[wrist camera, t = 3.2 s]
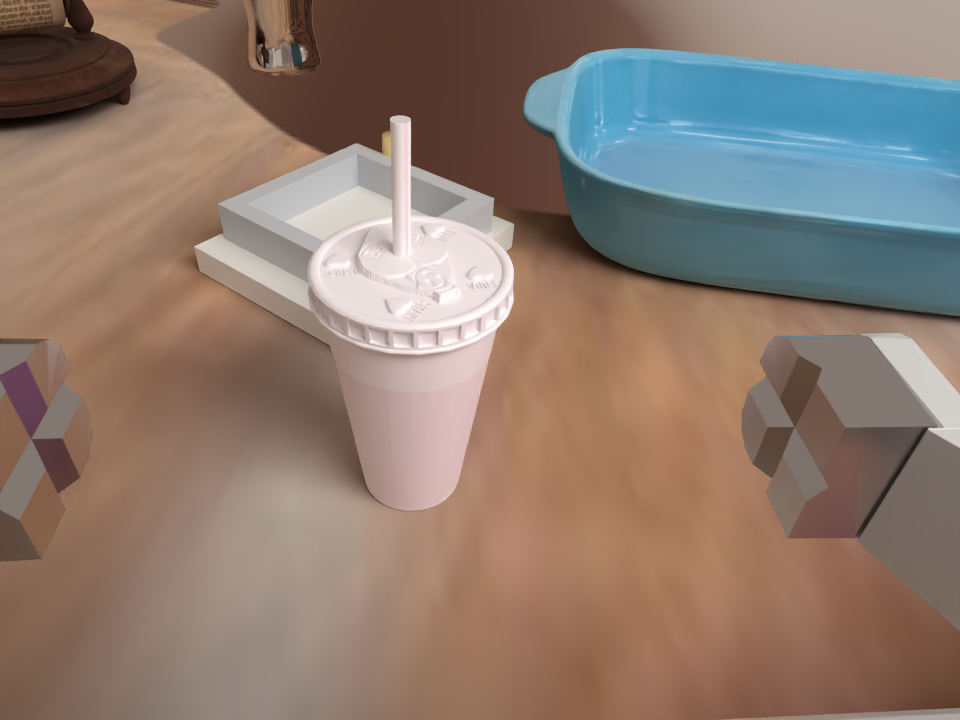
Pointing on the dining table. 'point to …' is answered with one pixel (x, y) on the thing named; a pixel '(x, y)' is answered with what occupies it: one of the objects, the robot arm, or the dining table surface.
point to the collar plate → (323, 224)
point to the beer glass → (281, 37)
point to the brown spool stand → (57, 59)
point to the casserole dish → (762, 173)
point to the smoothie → (410, 336)
